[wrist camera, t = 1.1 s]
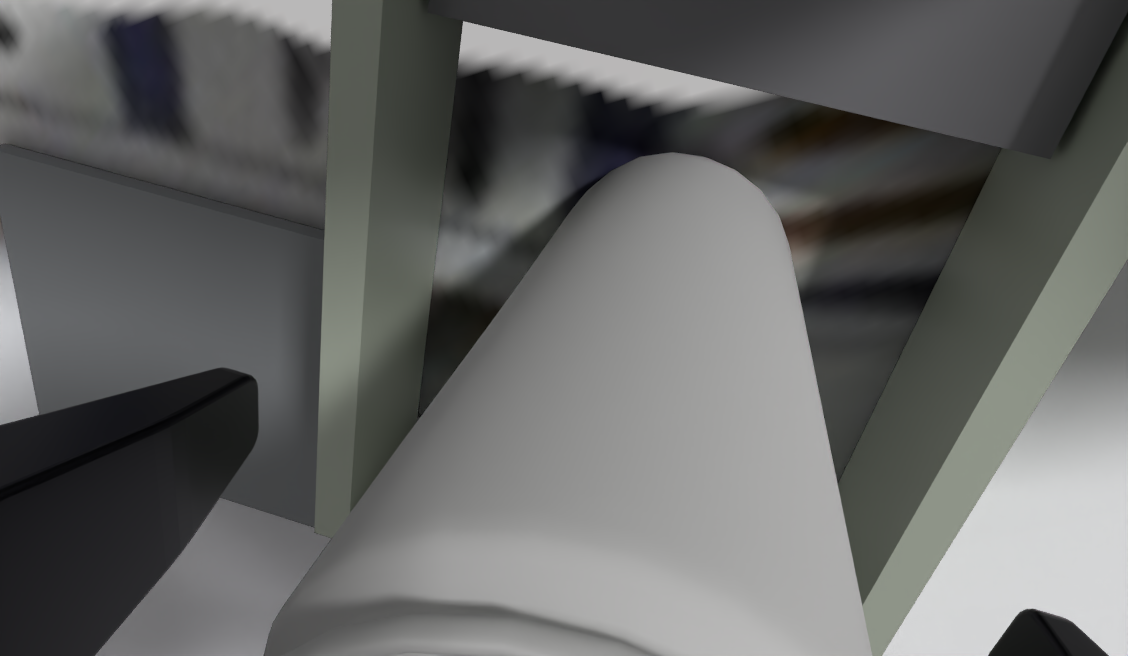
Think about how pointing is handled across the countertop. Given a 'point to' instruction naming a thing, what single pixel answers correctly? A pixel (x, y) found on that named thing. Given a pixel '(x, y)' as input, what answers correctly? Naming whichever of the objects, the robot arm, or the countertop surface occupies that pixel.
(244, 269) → the pad
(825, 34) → the case
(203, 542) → the countertop surface
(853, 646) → the beverage can
